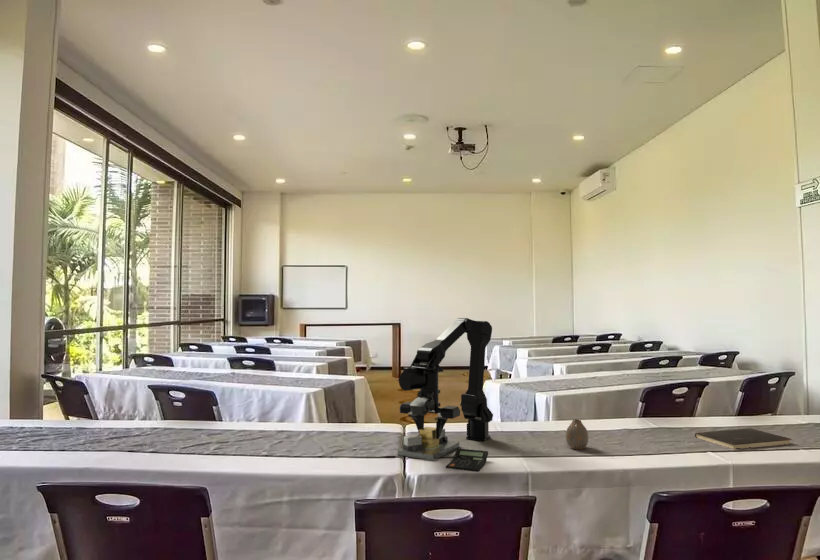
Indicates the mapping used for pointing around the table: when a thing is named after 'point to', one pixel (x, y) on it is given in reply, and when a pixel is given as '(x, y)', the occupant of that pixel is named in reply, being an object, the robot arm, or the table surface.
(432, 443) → the tan cube
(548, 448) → the table surface
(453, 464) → the calculator
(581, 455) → the table surface
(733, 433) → the hardcover book
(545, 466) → the table surface
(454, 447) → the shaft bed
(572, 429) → the vase
